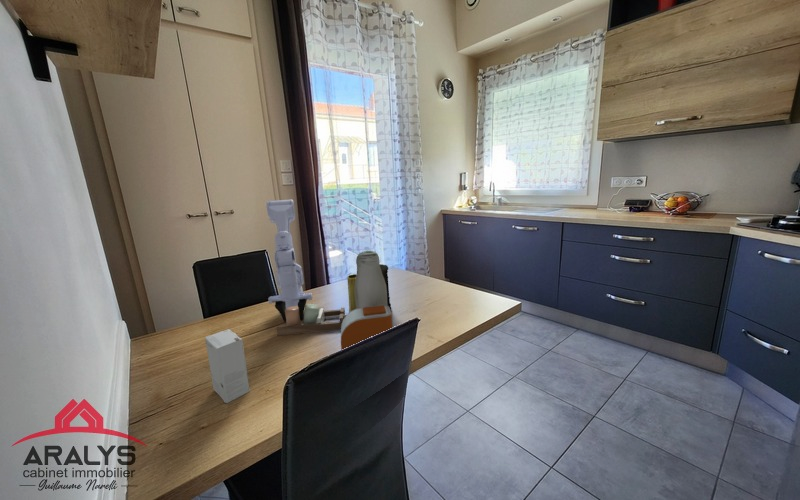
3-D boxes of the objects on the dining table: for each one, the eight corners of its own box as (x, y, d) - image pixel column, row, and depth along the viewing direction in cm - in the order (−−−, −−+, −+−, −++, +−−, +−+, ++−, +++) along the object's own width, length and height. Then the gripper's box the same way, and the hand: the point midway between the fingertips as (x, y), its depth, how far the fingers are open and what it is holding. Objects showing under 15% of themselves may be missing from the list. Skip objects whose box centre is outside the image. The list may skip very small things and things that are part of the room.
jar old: (303, 319, 110) (306, 302, 109) (317, 321, 111) (320, 305, 110) (301, 325, 106) (304, 308, 104) (315, 327, 107) (318, 310, 105)
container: (364, 314, 115) (360, 269, 111) (374, 305, 123) (371, 263, 119) (385, 317, 111) (382, 271, 107) (395, 308, 120) (392, 264, 115)
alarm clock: (390, 341, 95) (388, 301, 92) (395, 356, 87) (392, 313, 84) (343, 348, 92) (339, 307, 89) (342, 364, 84) (338, 319, 81)
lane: (285, 320, 113) (284, 311, 112) (345, 314, 116) (344, 306, 115) (277, 335, 102) (275, 325, 101) (343, 328, 104) (342, 319, 104)
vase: (361, 314, 116) (358, 278, 112) (346, 313, 117) (343, 278, 114) (366, 307, 121) (363, 273, 118) (352, 306, 123) (349, 273, 119)
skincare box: (213, 390, 76) (201, 337, 72) (238, 378, 80) (228, 327, 77) (226, 405, 70) (214, 348, 67) (252, 391, 75) (242, 337, 72)
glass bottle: (375, 322, 108) (369, 246, 102) (394, 331, 101) (390, 250, 95) (352, 332, 102) (345, 252, 95) (371, 343, 94) (365, 256, 88)
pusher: (321, 318, 113) (320, 308, 112) (359, 314, 115) (358, 305, 114) (318, 328, 105) (317, 318, 104) (359, 324, 106) (358, 314, 106)
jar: (288, 323, 110) (286, 307, 108) (302, 322, 111) (300, 305, 109) (285, 330, 105) (283, 312, 104) (300, 328, 106) (298, 311, 104)
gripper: (263, 289, 100) (269, 327, 103) (308, 285, 101) (312, 322, 104) (269, 282, 107) (275, 317, 110) (311, 279, 108) (315, 314, 111)
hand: (293, 319), depth 108 cm, fingers open, 5 cm apart
